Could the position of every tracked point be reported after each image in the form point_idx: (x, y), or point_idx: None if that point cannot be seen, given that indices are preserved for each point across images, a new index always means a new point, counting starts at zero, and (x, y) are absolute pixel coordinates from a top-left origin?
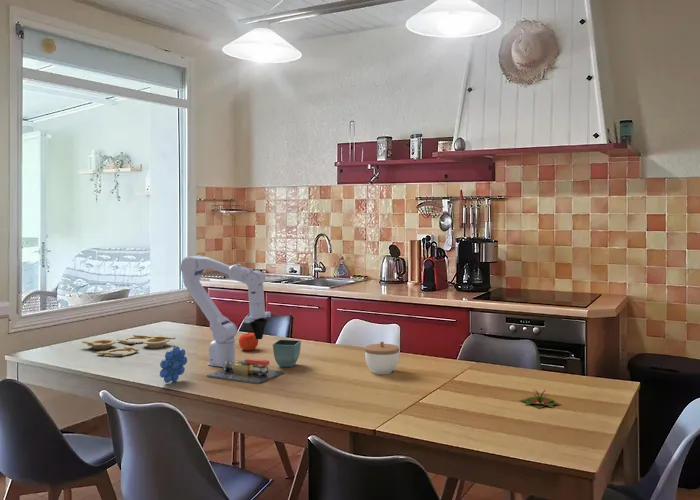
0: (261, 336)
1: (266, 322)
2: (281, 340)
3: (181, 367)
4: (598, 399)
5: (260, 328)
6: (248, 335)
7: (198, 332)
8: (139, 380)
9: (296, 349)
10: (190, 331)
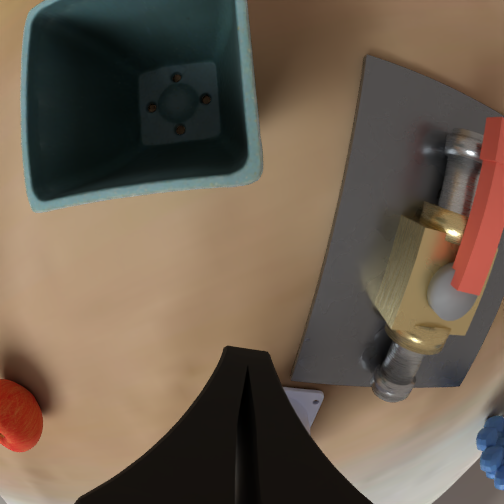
0: (255, 365)
1: (107, 495)
2: (37, 188)
3: (496, 441)
4: None
5: (315, 458)
6: (4, 433)
7: (14, 491)
8: (459, 473)
9: None
10: (21, 499)
